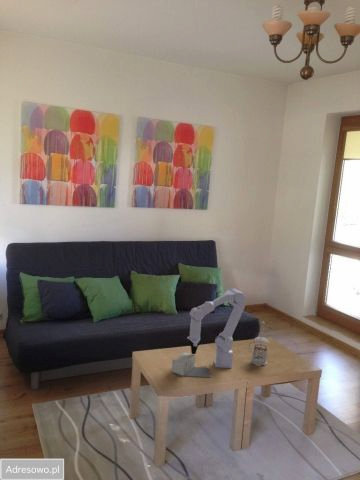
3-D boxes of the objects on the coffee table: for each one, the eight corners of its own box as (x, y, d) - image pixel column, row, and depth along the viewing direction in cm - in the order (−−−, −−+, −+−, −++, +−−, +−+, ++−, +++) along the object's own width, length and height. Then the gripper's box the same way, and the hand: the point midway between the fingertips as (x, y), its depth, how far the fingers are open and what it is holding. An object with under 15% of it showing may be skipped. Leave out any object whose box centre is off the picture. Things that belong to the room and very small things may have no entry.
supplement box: (183, 364, 235) (170, 371, 225) (184, 351, 234) (172, 358, 224) (194, 368, 232) (182, 376, 221) (195, 355, 231) (183, 363, 220)
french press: (266, 367, 239) (270, 325, 236) (246, 363, 243) (250, 322, 239) (268, 360, 249) (272, 320, 245) (249, 356, 252) (253, 317, 248)
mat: (208, 368, 233) (208, 367, 233) (210, 377, 222) (210, 377, 222) (176, 366, 232) (176, 365, 232) (176, 376, 222) (176, 375, 222)
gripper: (187, 324, 236) (185, 347, 238) (188, 334, 222) (186, 358, 224) (199, 325, 236) (198, 348, 238) (202, 335, 222) (200, 359, 224)
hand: (193, 353), depth 231 cm, fingers closed
